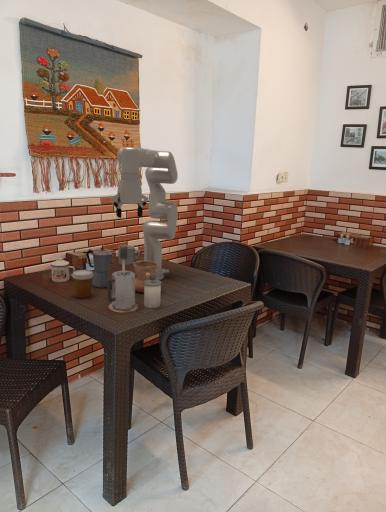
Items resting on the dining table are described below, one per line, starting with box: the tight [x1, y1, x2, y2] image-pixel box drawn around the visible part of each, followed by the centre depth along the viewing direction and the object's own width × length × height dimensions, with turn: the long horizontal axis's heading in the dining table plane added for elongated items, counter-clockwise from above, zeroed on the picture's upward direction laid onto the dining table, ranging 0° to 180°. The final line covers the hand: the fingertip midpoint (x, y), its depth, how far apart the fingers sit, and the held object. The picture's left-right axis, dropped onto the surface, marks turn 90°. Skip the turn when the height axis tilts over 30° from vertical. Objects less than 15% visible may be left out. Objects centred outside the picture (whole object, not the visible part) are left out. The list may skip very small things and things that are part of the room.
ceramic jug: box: [133, 259, 158, 294], centre depth 195 cm, size 18×14×14 cm
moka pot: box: [85, 246, 115, 288], centre depth 199 cm, size 10×15×20 cm, turn 78°
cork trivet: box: [108, 302, 139, 313], centre depth 173 cm, size 13×13×1 cm
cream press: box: [143, 273, 162, 309], centre depth 175 cm, size 8×8×16 cm
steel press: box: [106, 270, 136, 311], centre depth 171 cm, size 12×10×15 cm
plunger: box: [119, 245, 127, 275], centre depth 169 cm, size 3×3×18 cm
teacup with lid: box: [50, 257, 76, 283], centre depth 206 cm, size 12×9×12 cm
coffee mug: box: [117, 244, 141, 266], centre depth 244 cm, size 13×10×10 cm
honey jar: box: [71, 269, 94, 299], centre depth 183 cm, size 10×10×12 cm
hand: (129, 217), depth 173 cm, fingers open, 9 cm apart
